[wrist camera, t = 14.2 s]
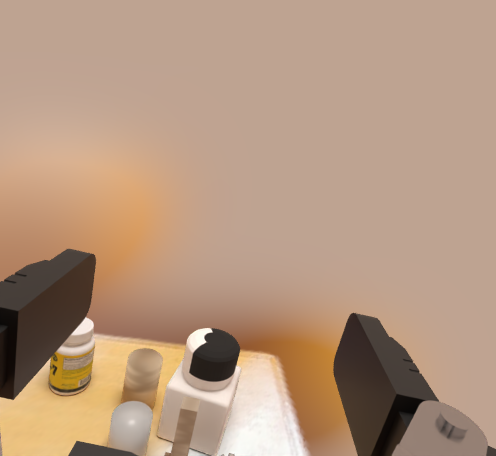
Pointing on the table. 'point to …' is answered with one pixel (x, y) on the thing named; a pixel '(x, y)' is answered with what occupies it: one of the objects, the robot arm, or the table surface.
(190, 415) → the hole board
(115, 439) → the short grey peg
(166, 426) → the medicine bottle
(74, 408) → the table surface
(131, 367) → the medium beech peg
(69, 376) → the supplement bottle
